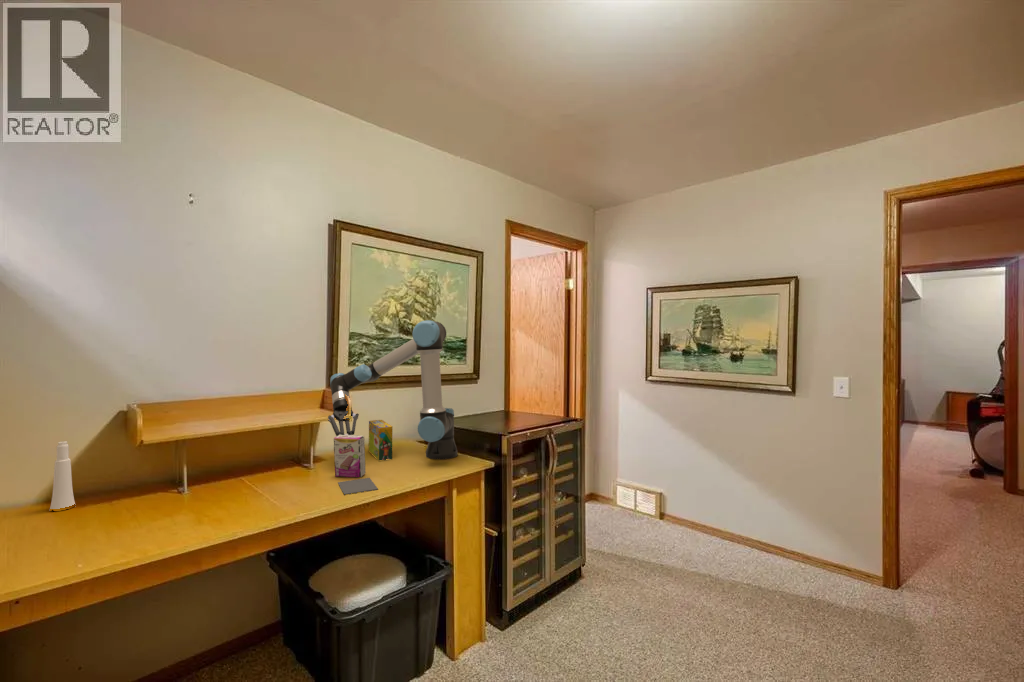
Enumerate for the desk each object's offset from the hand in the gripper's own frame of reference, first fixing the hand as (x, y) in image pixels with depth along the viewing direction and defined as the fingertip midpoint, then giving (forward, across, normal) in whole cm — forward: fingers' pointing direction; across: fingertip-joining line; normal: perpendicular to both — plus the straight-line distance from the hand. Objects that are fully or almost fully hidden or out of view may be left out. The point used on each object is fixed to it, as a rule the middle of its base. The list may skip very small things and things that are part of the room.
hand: (347, 448), depth 186 cm
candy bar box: (+10, -1, -5) cm, 11 cm away
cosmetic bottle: (+4, +88, -10) cm, 89 cm away
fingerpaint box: (-8, -18, -23) cm, 31 cm away
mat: (+21, -1, +6) cm, 22 cm away
